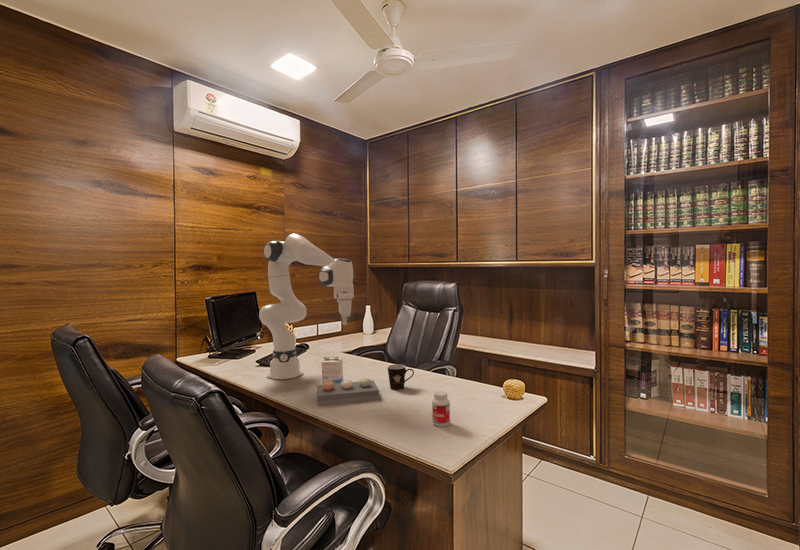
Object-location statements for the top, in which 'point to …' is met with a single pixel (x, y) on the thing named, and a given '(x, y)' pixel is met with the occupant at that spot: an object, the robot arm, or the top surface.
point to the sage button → (364, 382)
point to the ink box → (332, 370)
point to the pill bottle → (441, 409)
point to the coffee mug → (397, 376)
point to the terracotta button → (328, 386)
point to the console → (347, 394)
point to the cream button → (347, 384)
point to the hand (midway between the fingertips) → (344, 324)
